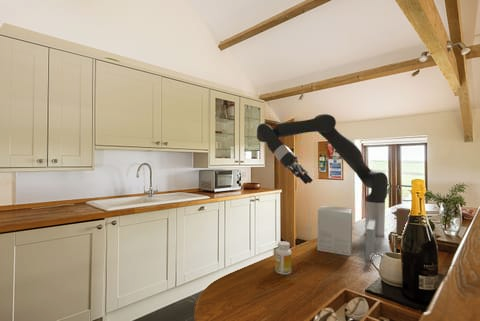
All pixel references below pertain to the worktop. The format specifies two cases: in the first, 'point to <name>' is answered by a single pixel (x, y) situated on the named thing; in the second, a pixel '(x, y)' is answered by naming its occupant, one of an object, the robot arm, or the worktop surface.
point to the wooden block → (401, 219)
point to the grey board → (370, 238)
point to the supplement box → (335, 230)
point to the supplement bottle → (283, 258)
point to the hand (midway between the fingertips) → (309, 182)
